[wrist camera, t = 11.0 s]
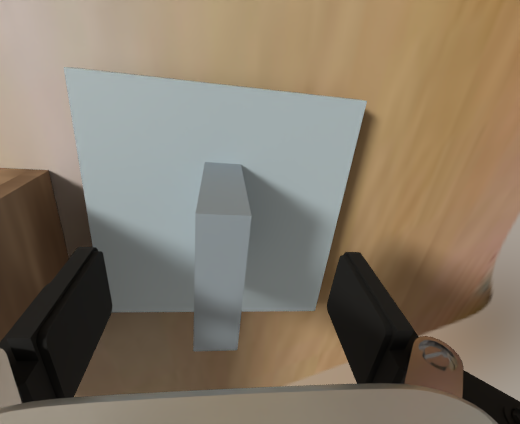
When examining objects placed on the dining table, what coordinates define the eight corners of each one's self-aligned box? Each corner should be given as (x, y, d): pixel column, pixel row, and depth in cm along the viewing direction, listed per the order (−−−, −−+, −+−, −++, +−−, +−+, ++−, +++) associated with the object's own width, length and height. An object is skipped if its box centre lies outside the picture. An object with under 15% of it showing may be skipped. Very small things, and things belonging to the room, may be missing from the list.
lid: (350, 97, 18) (452, 119, 10) (307, 291, 24) (348, 396, 16) (84, 67, 15) (-58, 64, 8) (114, 290, 22) (53, 413, 14)
